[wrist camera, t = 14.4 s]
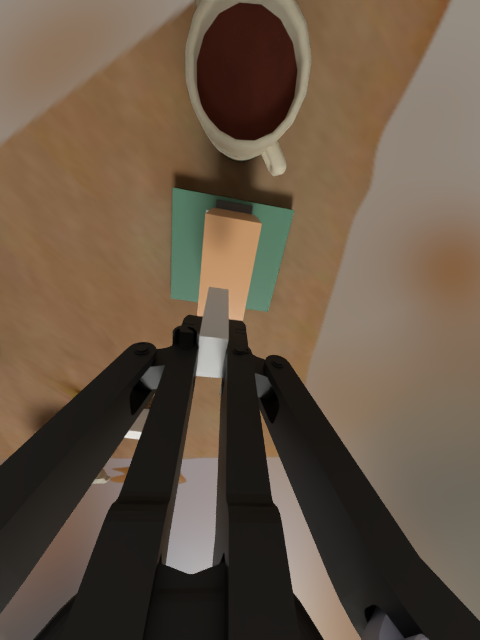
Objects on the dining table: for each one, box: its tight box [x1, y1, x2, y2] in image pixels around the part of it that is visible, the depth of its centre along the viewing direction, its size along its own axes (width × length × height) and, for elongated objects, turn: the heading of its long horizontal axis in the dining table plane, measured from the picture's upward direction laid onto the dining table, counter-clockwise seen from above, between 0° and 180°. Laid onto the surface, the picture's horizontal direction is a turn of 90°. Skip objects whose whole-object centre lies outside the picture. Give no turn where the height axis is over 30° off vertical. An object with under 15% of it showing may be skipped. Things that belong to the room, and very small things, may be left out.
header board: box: [171, 188, 294, 312], centre depth 27 cm, size 14×14×7 cm
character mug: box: [185, 0, 312, 176], centre depth 18 cm, size 11×7×13 cm, turn 31°
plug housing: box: [197, 207, 262, 321], centre depth 26 cm, size 5×15×7 cm, turn 171°
